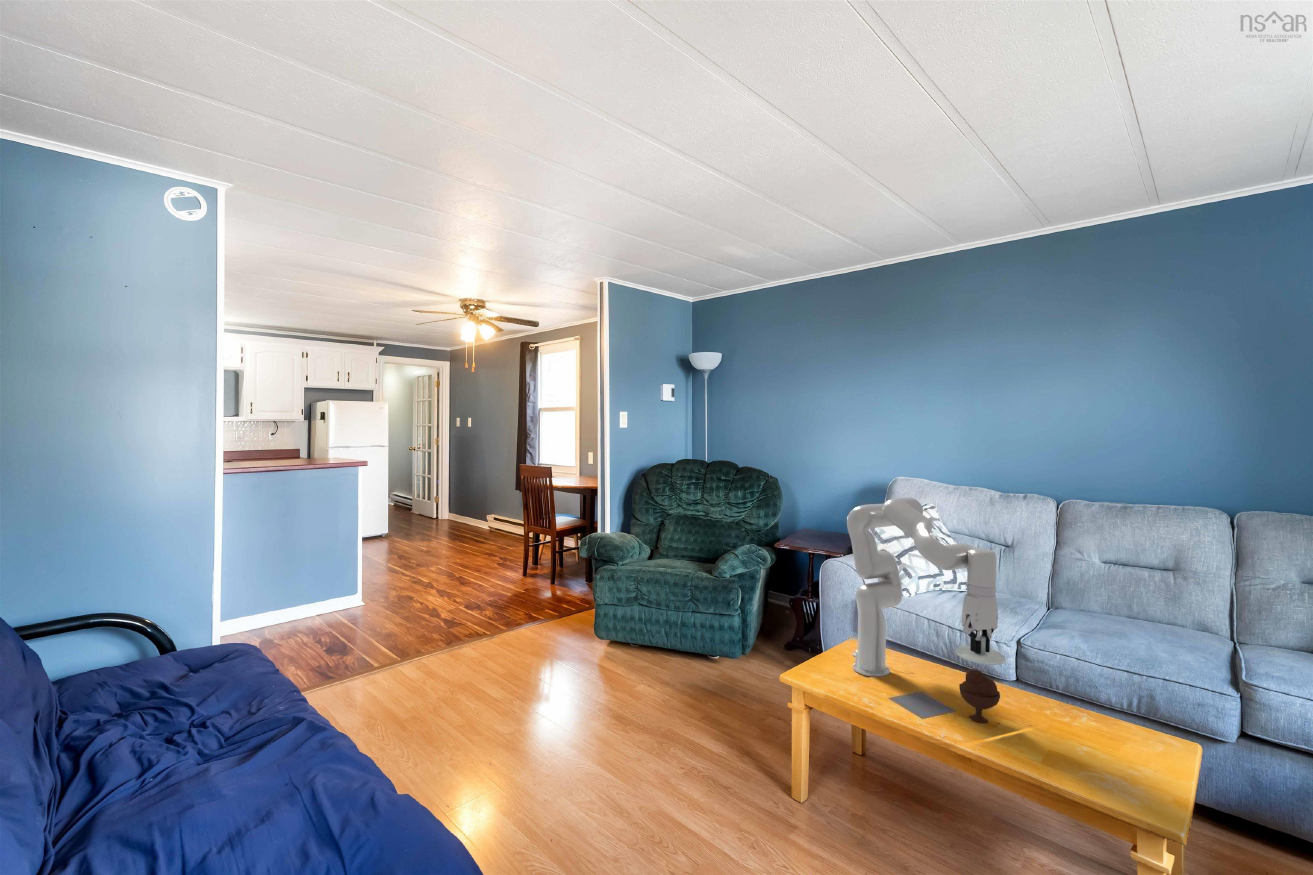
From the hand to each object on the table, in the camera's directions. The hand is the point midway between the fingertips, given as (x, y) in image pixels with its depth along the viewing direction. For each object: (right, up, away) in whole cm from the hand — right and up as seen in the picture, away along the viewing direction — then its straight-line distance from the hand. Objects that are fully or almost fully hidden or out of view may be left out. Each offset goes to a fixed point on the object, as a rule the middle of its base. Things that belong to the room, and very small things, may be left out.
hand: (979, 650), depth 173 cm
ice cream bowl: (0, -21, 0) cm, 21 cm away
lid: (0, -1, 0) cm, 1 cm away
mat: (-13, -21, +9) cm, 26 cm away
